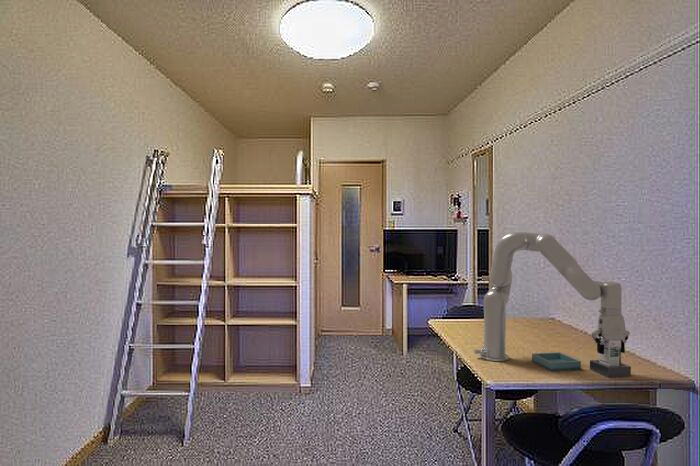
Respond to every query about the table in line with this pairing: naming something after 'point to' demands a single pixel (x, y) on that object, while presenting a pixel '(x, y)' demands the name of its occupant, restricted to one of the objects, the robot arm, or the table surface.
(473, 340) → the table surface
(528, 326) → the table surface
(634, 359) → the table surface
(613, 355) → the syrup box
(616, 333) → the robot arm
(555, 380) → the table surface
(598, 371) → the holder
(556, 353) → the tray
